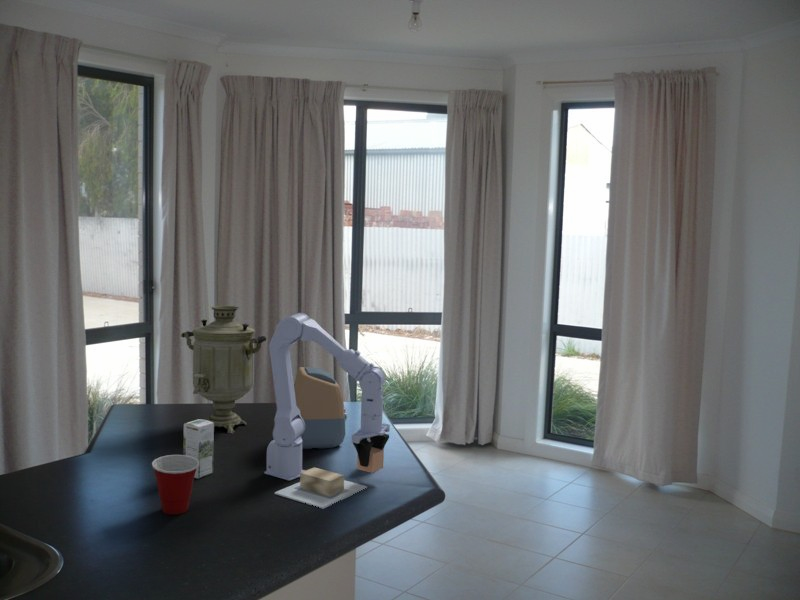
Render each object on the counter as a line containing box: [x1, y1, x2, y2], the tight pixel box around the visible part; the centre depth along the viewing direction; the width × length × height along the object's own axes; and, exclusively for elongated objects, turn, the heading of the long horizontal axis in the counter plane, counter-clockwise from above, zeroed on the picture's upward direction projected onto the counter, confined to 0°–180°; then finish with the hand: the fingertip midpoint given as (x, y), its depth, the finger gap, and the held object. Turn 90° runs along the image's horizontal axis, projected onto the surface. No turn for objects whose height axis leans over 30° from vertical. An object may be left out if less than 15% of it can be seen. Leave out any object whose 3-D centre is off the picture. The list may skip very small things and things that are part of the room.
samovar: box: [180, 305, 267, 434], centre depth 244 cm, size 30×26×40 cm
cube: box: [356, 447, 385, 474], centre depth 200 cm, size 5×5×5 cm
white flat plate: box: [274, 479, 368, 510], centre depth 194 cm, size 16×18×1 cm
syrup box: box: [182, 418, 215, 479], centre depth 203 cm, size 6×6×14 cm
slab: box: [299, 467, 345, 497], centre depth 193 cm, size 10×6×4 cm, turn 56°
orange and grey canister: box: [294, 366, 346, 450], centre depth 233 cm, size 17×17×23 cm
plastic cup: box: [151, 454, 200, 516], centre depth 178 cm, size 11×11×12 cm
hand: (370, 463), depth 201 cm, fingers closed on cube, 5 cm apart
